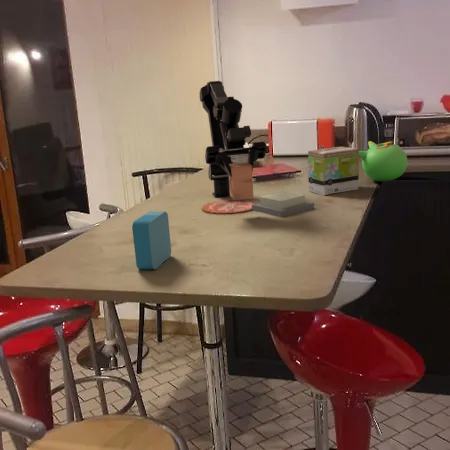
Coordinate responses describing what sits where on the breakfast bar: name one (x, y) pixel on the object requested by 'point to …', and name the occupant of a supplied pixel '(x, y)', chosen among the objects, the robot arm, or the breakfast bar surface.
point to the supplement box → (240, 157)
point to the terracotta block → (241, 181)
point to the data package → (151, 239)
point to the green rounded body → (383, 161)
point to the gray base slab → (284, 211)
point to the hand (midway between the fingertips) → (241, 174)
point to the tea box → (333, 170)
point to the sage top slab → (282, 200)
